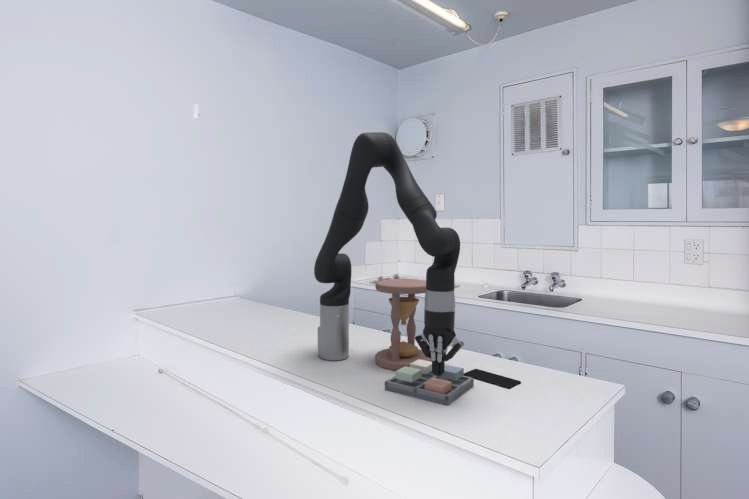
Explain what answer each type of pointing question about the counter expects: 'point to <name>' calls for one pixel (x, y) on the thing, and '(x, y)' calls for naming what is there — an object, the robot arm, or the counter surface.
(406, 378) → the sage key
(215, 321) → the counter surface
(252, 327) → the counter surface
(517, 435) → the counter surface
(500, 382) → the smartphone
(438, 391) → the terracotta key
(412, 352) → the hourglass
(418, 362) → the cream key
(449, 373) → the slate key
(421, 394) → the keypad
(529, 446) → the counter surface
